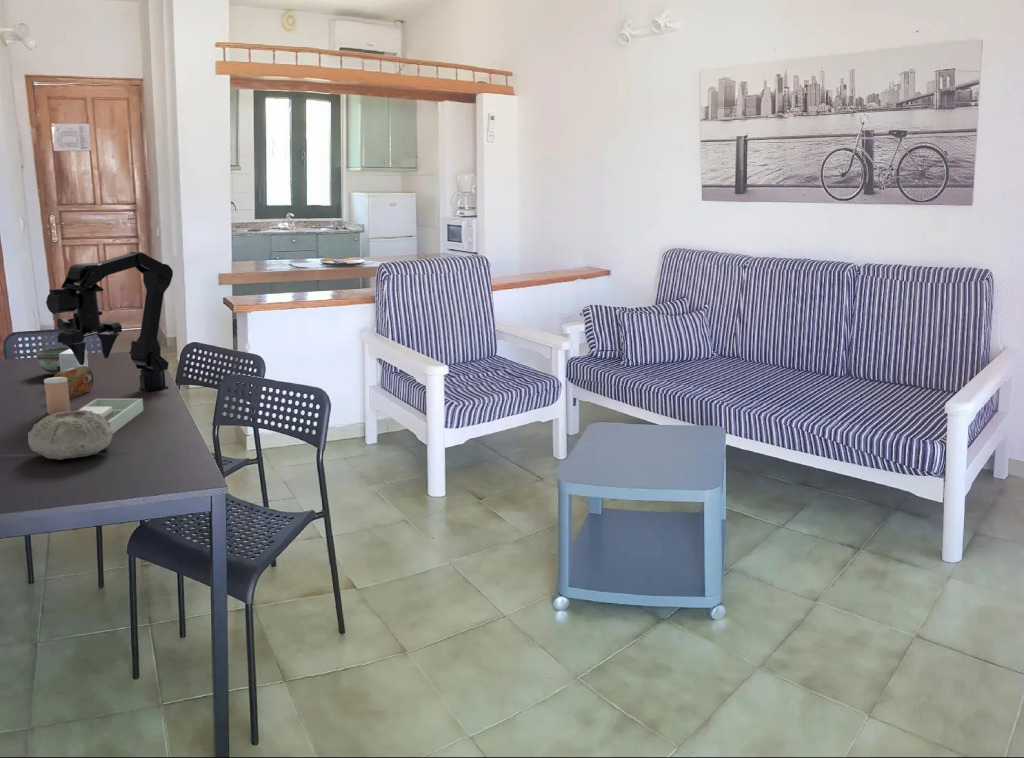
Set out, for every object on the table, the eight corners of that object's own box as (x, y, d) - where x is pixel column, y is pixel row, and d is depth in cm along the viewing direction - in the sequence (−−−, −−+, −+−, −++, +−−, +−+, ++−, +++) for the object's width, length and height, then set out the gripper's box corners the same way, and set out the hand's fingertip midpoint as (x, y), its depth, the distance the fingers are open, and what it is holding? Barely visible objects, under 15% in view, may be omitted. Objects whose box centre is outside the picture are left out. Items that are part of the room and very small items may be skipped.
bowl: (70, 379, 274) (67, 355, 272) (29, 378, 274) (26, 354, 273) (91, 370, 288) (89, 347, 286) (52, 369, 288) (49, 346, 286)
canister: (64, 410, 238) (61, 375, 235) (74, 414, 234) (71, 378, 232) (44, 414, 233) (40, 379, 231) (54, 418, 230) (50, 382, 228)
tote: (97, 412, 236) (96, 398, 235) (143, 412, 237) (142, 398, 236) (59, 438, 212) (57, 422, 212) (110, 437, 214) (109, 422, 213)
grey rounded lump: (116, 460, 196) (112, 419, 194) (29, 471, 188) (24, 428, 186) (112, 440, 212) (108, 401, 210) (31, 449, 204) (26, 409, 201)
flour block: (86, 424, 222) (84, 406, 221) (114, 424, 223) (112, 406, 222) (74, 432, 215) (73, 413, 214) (103, 432, 216) (101, 413, 215)
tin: (61, 401, 247) (58, 374, 245) (51, 401, 248) (48, 373, 246) (95, 390, 261) (92, 363, 259) (86, 389, 262) (83, 363, 260)
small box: (72, 380, 273) (68, 348, 271) (90, 380, 274) (86, 348, 271) (61, 386, 265) (57, 353, 263) (79, 386, 266) (76, 353, 263)
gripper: (90, 301, 252) (96, 352, 256) (38, 312, 235) (46, 366, 239) (120, 303, 249) (126, 355, 253) (69, 314, 231) (77, 369, 235)
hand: (94, 361), depth 245 cm, fingers open, 9 cm apart
